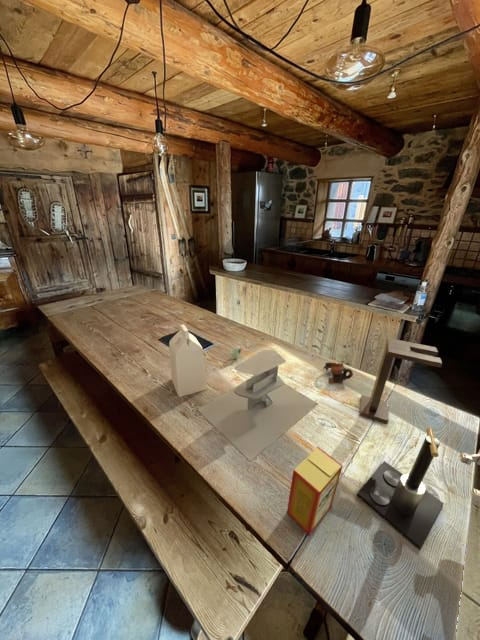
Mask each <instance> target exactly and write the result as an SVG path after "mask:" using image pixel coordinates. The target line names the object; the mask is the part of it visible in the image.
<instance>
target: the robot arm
mask: <svg viewBox="0 0 480 640" xmlns="http://www.w3.org/2000/svg"><path fill="white" fill-rule="evenodd" d="M459 459H460V462H461V463H462V464H466V465H469V466H470V465H471V464H472V463H476V465H477V466H480V449H478V452H477V453H473V454H472V453H471V454H470V453H466V452H460V454H459ZM470 496H471V500H472V501H474V502H476V503H479V504H480V490H478V489H477V488H472V489H471V491H470Z"/></svg>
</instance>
